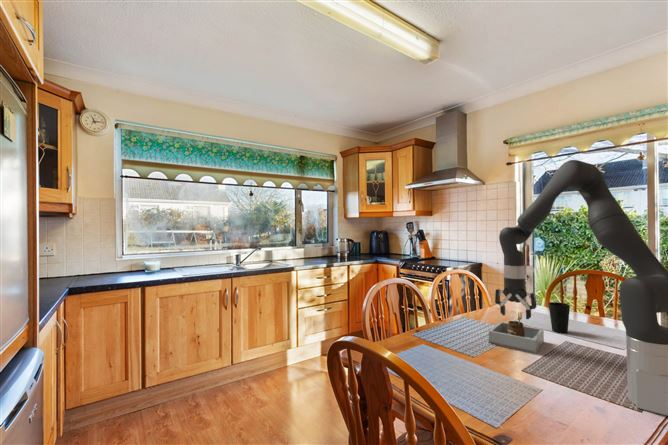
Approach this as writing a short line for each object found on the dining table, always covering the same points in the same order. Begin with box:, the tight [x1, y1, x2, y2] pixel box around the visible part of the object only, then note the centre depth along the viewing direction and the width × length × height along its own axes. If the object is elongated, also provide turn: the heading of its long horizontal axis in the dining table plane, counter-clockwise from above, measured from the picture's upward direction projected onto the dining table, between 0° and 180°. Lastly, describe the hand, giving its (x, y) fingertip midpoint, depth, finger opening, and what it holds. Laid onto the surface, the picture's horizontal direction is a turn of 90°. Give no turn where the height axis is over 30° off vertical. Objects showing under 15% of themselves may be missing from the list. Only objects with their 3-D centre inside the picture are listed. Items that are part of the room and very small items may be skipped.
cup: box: [548, 301, 571, 335], centre depth 137 cm, size 8×8×12 cm
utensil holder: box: [507, 311, 525, 337], centre depth 125 cm, size 6×6×12 cm
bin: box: [488, 321, 545, 355], centre depth 125 cm, size 16×16×5 cm
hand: (515, 316), depth 125 cm, fingers open, 8 cm apart
